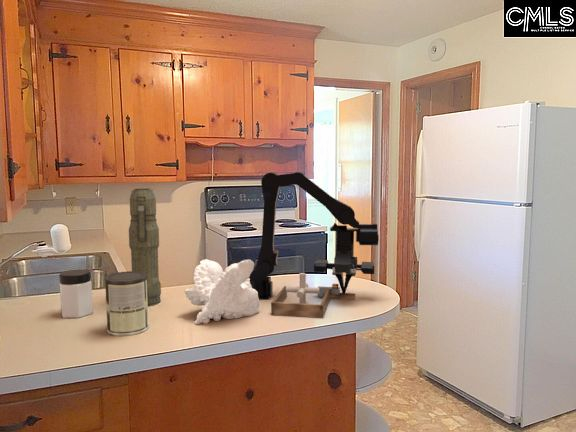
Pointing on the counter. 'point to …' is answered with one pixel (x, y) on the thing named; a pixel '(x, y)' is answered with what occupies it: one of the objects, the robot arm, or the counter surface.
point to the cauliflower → (223, 291)
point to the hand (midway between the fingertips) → (343, 293)
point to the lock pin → (333, 290)
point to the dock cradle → (304, 305)
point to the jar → (76, 293)
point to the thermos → (145, 240)
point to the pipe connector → (302, 289)
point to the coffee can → (126, 303)
